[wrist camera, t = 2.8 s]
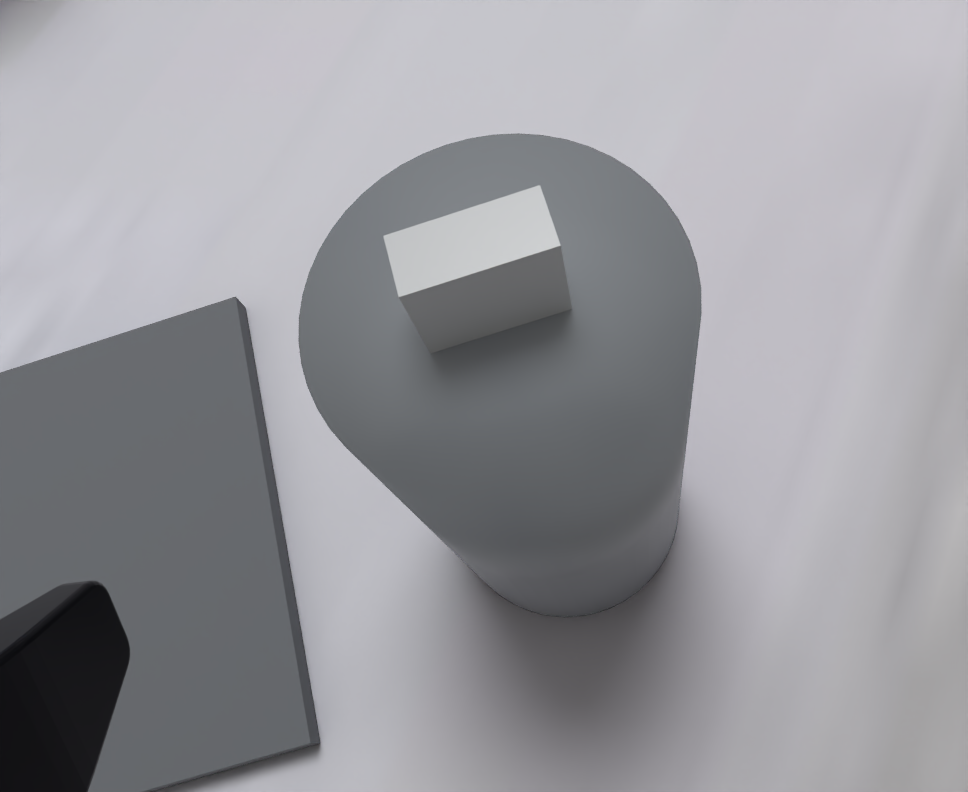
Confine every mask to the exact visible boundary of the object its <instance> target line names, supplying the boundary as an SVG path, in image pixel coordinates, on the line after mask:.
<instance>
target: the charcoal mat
mask: <svg viewBox="0 0 968 792" xmlns="http://www.w3.org/2000/svg"><path fill="white" fill-rule="evenodd" d="M82 581H98V582H100V583H102V584H103V585H104V586H105V587H106V589H107V590H108V592H109V594H110V597H111V599H112V602H113V604H114V606H115V609H116V611H117V613H118V616H119V618H120V621H121V623H122V625H123V628H124V630H125V633H126V635H127V637H128V641H129V645H130V660H129V665H128V669H127V672H126V675H125V678H124V681H123V684H122V688H121V691H120V694H119V697H118V700H117V703H116V707H115V710H114V713H113V716H112V719H111V722H110V726H109V729H108V732H107V735H106V738H105V741H104V745H103V748H102V751H101V754H100V757H99V760H98V764H97V767H96V770H95V773H94V776H93V778H92V781H91V784H90V787H89V790H88V792H152V791H155V790H159V789H162V788H166V787H169V786H173V785H176V784H179V783H183V782H186V781H190V780H193V779H197V778H200V777H204V776H207V775H211V774H214V773H218V772H221V771H225V770H228V769H232V768H235V767H239V766H242V765H245V764H249V763H252V762H256V761H259V760H263V759H266V758H270V757H273V756H277V755H280V754H284V753H287V752H291V751H294V750H298V749H301V748H305V747H308V746H312V745H315V744H318V743H320V739H319V733H318V728H317V722H316V716H315V710H314V704H313V698H312V693H311V687H310V681H309V675H308V669H307V664H306V658H305V652H304V646H303V640H302V634H301V629H300V623H299V617H298V611H297V605H296V600H295V594H294V588H293V582H292V576H291V570H290V565H289V559H288V553H287V547H286V541H285V536H284V530H283V524H282V518H281V512H280V506H279V501H278V495H277V489H276V483H275V477H274V471H273V466H272V460H271V454H270V448H269V442H268V437H267V431H266V425H265V419H264V413H263V407H262V402H261V396H260V390H259V384H258V378H257V373H256V367H255V361H254V355H253V349H252V343H251V338H250V332H249V326H248V320H247V314H246V309H245V306H244V305H243V304H242V303H241V302H240V301H239V300H238V299H237V298H236V297H233V298H230V299H227V300H224V301H221V302H218V303H215V304H212V305H208V306H205V307H202V308H199V309H196V310H193V311H190V312H187V313H184V314H181V315H178V316H174V317H171V318H168V319H165V320H162V321H159V322H156V323H153V324H150V325H147V326H143V327H140V328H137V329H134V330H131V331H128V332H125V333H122V334H119V335H116V336H113V337H109V338H106V339H103V340H100V341H97V342H94V343H91V344H88V345H85V346H82V347H78V348H75V349H72V350H69V351H66V352H63V353H60V354H57V355H54V356H51V357H48V358H44V359H41V360H38V361H35V362H32V363H29V364H26V365H23V366H20V367H17V368H13V369H10V370H7V371H4V372H1V373H0V619H1V618H3V617H5V616H7V615H8V614H10V613H12V612H14V611H15V610H17V609H19V608H20V607H22V606H24V605H26V604H27V603H29V602H31V601H33V600H34V599H36V598H38V597H40V596H41V595H43V594H45V593H46V592H48V591H50V590H52V589H53V588H55V587H57V586H59V585H62V584H65V583H74V582H82Z"/></svg>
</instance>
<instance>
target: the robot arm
mask: <svg viewBox="0 0 968 792" xmlns="http://www.w3.org/2000/svg"><path fill="white" fill-rule="evenodd" d="M129 660H130V645H129V641H128V637H127V635H126V633H125V630H124V628H123V625H122V623H121V621H120V618H119V616H118V613H117V611H116V609H115V606H114V604H113V602H112V599H111V597H110V594H109V592H108V590H107V589H106V587H105V586H104V585H103V584H102V583H100V582H98V581H82V582H74V583H65V584H62V585H59V586H57V587H55V588H53V589H52V590H50V591H48V592H46V593H45V594H43V595H41V596H40V597H38V598H36V599H34V600H33V601H31V602H29V603H27V604H26V605H24V606H22V607H20V608H19V609H17V610H15V611H14V612H12V613H10V614H8V615H7V616H5V617H3V618H1V619H0V792H88V790H89V787H90V784H91V781H92V778H93V776H94V773H95V770H96V767H97V764H98V760H99V757H100V754H101V751H102V748H103V745H104V741H105V738H106V735H107V732H108V729H109V726H110V722H111V719H112V716H113V713H114V710H115V707H116V703H117V700H118V697H119V694H120V691H121V688H122V684H123V681H124V678H125V675H126V672H127V669H128V665H129Z"/></svg>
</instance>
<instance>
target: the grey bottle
mask: <svg viewBox="0 0 968 792" xmlns="http://www.w3.org/2000/svg"><path fill="white" fill-rule="evenodd" d="M700 321H701V285H700V279H699V273H698V267H697V262H696V259H695V256H694V253H693V250H692V247H691V244H690V241H689V239H688V237H687V235H686V233H685V231H684V229H683V227H682V225H681V223H680V221H679V219H678V218H677V216H676V215H675V213H674V212H673V211H672V209H671V208H670V206H669V205H668V204H667V202H666V201H665V200H664V198H663V197H662V196H661V195H660V194H659V193H658V192H657V191H656V190H655V189H654V188H653V187H652V186H651V185H650V184H649V183H648V182H647V181H646V180H645V179H643V178H642V177H641V176H640V175H638V174H637V173H636V172H635V171H633V170H632V169H631V168H629V167H628V166H626V165H624V164H623V163H621V162H619V161H618V160H616V159H615V158H613V157H611V156H609V155H607V154H605V153H603V152H600V151H598V150H596V149H593V148H591V147H589V146H586V145H583V144H579V143H576V142H573V141H569V140H566V139H561V138H555V137H550V136H544V135H532V134H499V135H489V136H483V137H476V138H470V139H466V140H462V141H459V142H455V143H451V144H448V145H444V146H442V147H439V148H437V149H434V150H431V151H429V152H426V153H424V154H422V155H420V156H418V157H416V158H414V159H412V160H410V161H408V162H406V163H404V164H402V165H400V166H399V167H397V168H396V169H394V170H393V171H391V172H390V173H388V174H387V175H385V176H384V177H382V178H381V179H380V180H378V181H377V182H376V183H375V184H374V185H372V186H371V187H370V188H369V189H368V190H366V191H365V192H364V193H363V194H362V195H361V196H360V197H359V198H358V199H357V200H356V201H355V202H354V203H353V204H352V205H351V206H350V207H349V208H348V209H347V210H346V211H345V212H344V214H343V215H342V216H341V218H340V219H339V220H338V222H337V223H336V224H335V226H334V227H333V228H332V229H331V231H330V233H329V234H328V236H327V238H326V239H325V241H324V243H323V244H322V246H321V248H320V249H319V251H318V254H317V256H316V258H315V260H314V263H313V265H312V267H311V269H310V272H309V275H308V278H307V282H306V285H305V288H304V292H303V296H302V302H301V308H300V315H299V348H300V357H301V364H302V368H303V372H304V375H305V379H306V383H307V386H308V389H309V391H310V393H311V396H312V398H313V400H314V402H315V405H316V407H317V409H318V411H319V412H320V414H321V415H322V417H323V419H324V420H325V422H326V423H327V425H328V427H329V428H330V429H331V431H332V432H333V433H334V434H335V435H336V436H337V438H338V439H339V440H340V441H341V442H342V443H343V445H344V446H345V447H346V448H347V449H348V450H349V451H350V452H351V453H352V454H353V455H354V456H355V457H356V458H357V459H358V460H359V461H360V462H361V463H362V464H364V465H365V466H366V467H367V468H368V469H369V470H370V471H371V472H372V473H373V474H374V475H375V476H376V477H377V478H378V479H379V480H380V481H381V482H382V483H383V484H384V485H385V486H386V487H387V488H388V489H389V490H390V491H391V492H392V493H393V494H394V495H395V496H396V497H398V498H399V499H400V500H401V501H402V502H403V503H404V504H405V505H406V506H407V507H408V508H409V509H410V510H411V511H412V512H413V513H414V514H415V515H416V516H417V517H418V518H419V519H420V520H421V521H422V522H423V523H424V524H425V525H426V526H427V527H428V528H429V529H431V530H432V531H433V532H434V533H435V534H436V535H437V536H438V537H439V538H440V539H441V540H442V541H443V542H444V543H445V544H446V545H447V546H448V547H449V548H450V549H451V550H452V551H453V552H454V553H455V554H456V555H457V556H458V557H459V558H460V559H461V560H462V561H464V562H465V563H466V564H467V565H468V566H469V567H470V568H471V569H472V570H473V571H474V572H475V573H476V574H477V575H478V576H479V577H480V578H481V579H482V580H483V581H484V582H485V583H486V584H487V585H488V586H490V587H491V588H492V589H493V590H494V591H495V592H496V593H497V594H499V595H500V596H502V597H503V598H505V599H506V600H508V601H509V602H511V603H513V604H515V605H517V606H519V607H521V608H523V609H526V610H529V611H532V612H535V613H539V614H544V615H549V616H560V617H573V616H584V615H588V614H593V613H597V612H600V611H603V610H606V609H609V608H611V607H614V606H615V605H617V604H619V603H621V602H623V601H625V600H627V599H628V598H629V597H631V596H632V595H634V594H635V593H636V592H638V591H639V590H640V589H641V588H642V587H643V586H644V585H645V584H646V583H647V582H649V581H650V579H651V578H652V577H653V576H654V574H655V573H656V572H657V571H658V569H659V568H660V566H661V565H662V563H663V561H664V560H665V558H666V556H667V554H668V552H669V549H670V547H671V545H672V542H673V539H674V535H675V531H676V527H677V520H678V512H679V503H680V495H681V486H682V477H683V469H684V460H685V451H686V443H687V434H688V425H689V417H690V408H691V399H692V391H693V382H694V373H695V364H696V356H697V347H698V338H699V330H700Z"/></svg>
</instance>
